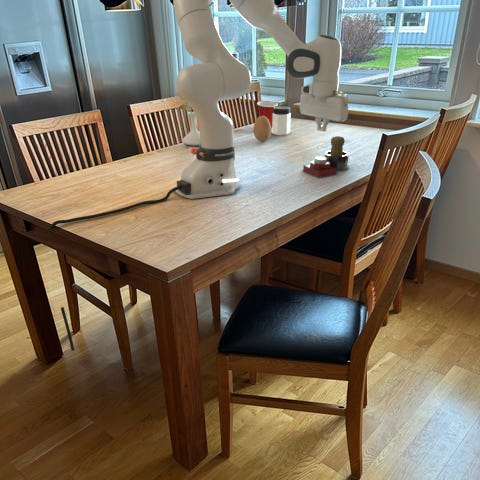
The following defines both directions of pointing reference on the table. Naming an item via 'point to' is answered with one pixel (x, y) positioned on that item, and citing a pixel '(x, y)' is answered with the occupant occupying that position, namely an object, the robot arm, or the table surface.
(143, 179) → the table surface
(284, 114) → the jar
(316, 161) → the button
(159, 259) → the table surface
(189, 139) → the flower in vase
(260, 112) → the plastic cup
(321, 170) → the panel
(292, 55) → the robot arm
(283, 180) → the table surface
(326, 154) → the cup
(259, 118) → the egg
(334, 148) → the olive yellow knobbed peg
